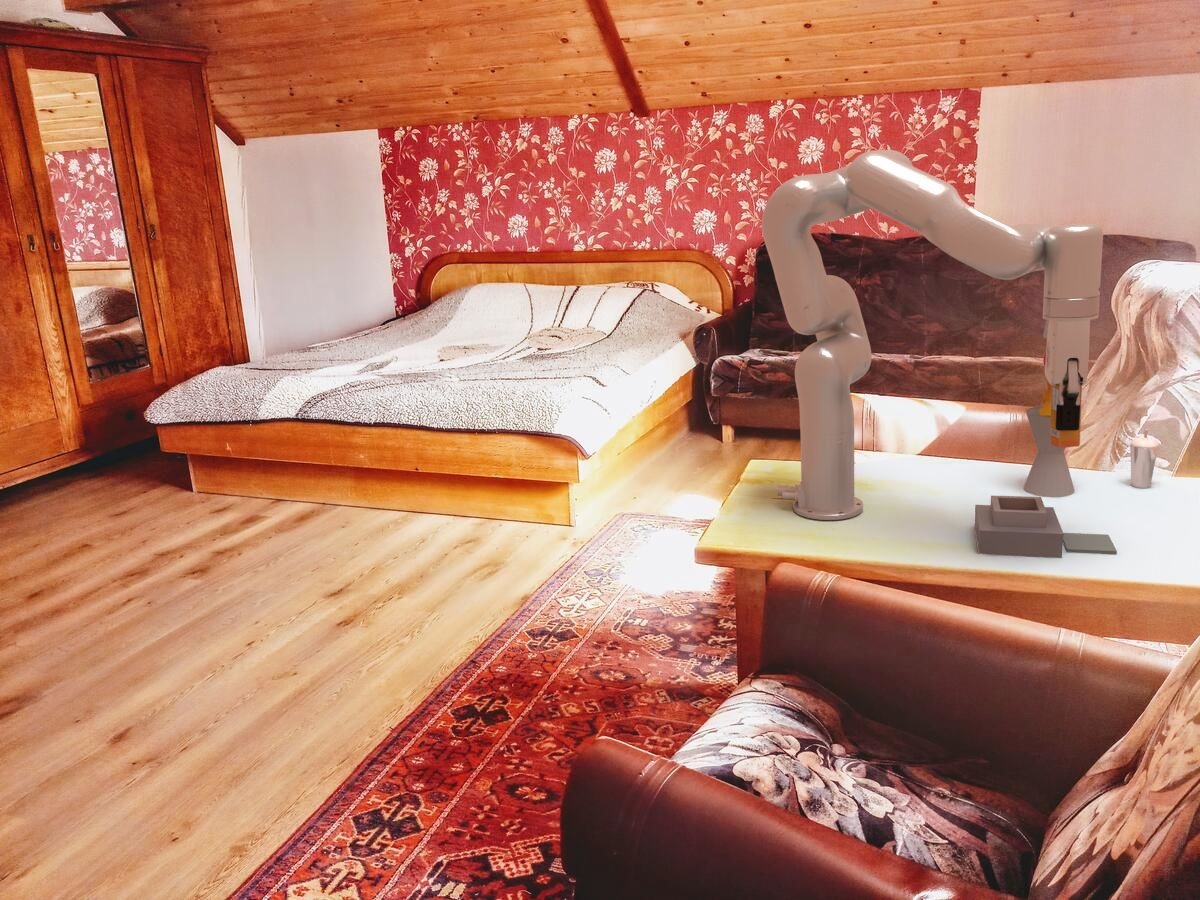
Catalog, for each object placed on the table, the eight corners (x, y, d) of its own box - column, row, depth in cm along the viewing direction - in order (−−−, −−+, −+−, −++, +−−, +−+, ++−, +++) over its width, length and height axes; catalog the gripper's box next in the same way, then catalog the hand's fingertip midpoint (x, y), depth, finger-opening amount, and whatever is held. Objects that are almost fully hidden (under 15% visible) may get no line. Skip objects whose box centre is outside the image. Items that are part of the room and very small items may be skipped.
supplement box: (1069, 441, 147) (1072, 379, 144) (1080, 447, 143) (1084, 384, 141) (1047, 443, 147) (1051, 381, 144) (1058, 449, 143) (1062, 385, 141)
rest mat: (1066, 551, 146) (1066, 549, 146) (1060, 535, 153) (1060, 532, 152) (1116, 554, 144) (1116, 551, 144) (1108, 537, 150) (1108, 534, 150)
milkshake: (1155, 481, 173) (1160, 430, 170) (1154, 490, 169) (1159, 437, 166) (1127, 479, 175) (1132, 428, 173) (1125, 488, 171) (1130, 435, 168)
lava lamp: (1079, 498, 168) (1093, 304, 158) (1024, 496, 171) (1034, 306, 161) (1071, 482, 176) (1084, 297, 167) (1019, 481, 179) (1029, 299, 169)
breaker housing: (978, 553, 148) (980, 515, 146) (974, 526, 159) (975, 490, 157) (1061, 557, 144) (1064, 518, 143) (1051, 529, 155) (1054, 493, 153)
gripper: (1037, 301, 148) (1033, 413, 153) (1049, 317, 133) (1044, 440, 138) (1089, 299, 146) (1083, 412, 150) (1108, 315, 130) (1101, 440, 135)
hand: (1065, 424), depth 144 cm, fingers closed on supplement box, 3 cm apart
